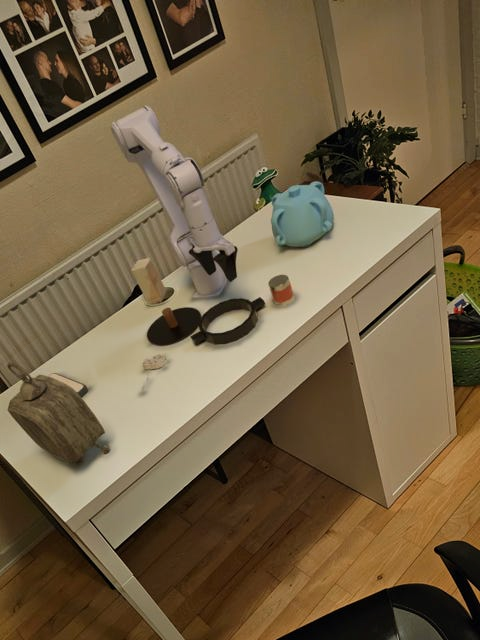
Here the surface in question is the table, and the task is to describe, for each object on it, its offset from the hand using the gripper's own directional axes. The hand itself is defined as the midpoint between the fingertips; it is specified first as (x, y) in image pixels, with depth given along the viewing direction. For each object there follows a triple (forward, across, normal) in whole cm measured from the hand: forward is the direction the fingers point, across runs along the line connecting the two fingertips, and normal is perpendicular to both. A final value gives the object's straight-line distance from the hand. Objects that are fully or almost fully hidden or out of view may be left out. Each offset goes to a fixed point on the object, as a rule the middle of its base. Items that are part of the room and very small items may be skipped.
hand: (222, 276), depth 125 cm
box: (+11, -29, -5) cm, 31 cm away
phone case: (+11, -21, -43) cm, 49 cm away
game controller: (+11, -2, -26) cm, 28 cm away
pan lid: (+10, -12, -12) cm, 19 cm away
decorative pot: (+11, -7, +33) cm, 35 cm away
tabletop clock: (+10, +4, -50) cm, 51 cm away
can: (+10, +8, +8) cm, 16 cm away
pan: (+10, +3, -5) cm, 12 cm away
